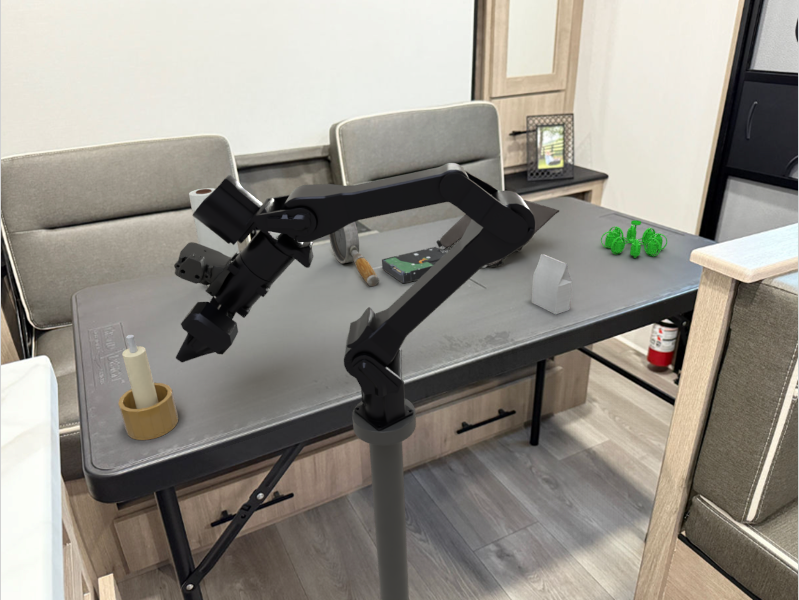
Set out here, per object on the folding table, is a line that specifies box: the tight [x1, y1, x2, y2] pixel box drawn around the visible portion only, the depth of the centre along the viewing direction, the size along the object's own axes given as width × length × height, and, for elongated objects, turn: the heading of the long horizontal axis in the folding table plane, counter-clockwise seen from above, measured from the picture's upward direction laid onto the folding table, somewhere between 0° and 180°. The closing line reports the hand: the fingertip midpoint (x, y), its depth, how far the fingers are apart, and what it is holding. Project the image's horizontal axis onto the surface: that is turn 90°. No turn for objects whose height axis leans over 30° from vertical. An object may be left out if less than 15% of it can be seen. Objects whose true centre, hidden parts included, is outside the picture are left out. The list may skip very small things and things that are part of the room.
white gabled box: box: [531, 253, 573, 315], centre depth 118 cm, size 4×7×10 cm, turn 31°
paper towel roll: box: [188, 187, 240, 288], centre depth 131 cm, size 7×6×21 cm
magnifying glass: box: [328, 222, 380, 287], centre depth 139 cm, size 13×3×25 cm
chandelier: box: [600, 220, 668, 259], centre depth 144 cm, size 15×15×7 cm
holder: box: [117, 382, 179, 441], centre depth 88 cm, size 7×7×5 cm
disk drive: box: [381, 246, 447, 284], centre depth 139 cm, size 10×3×15 cm
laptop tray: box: [436, 199, 560, 269], centre depth 148 cm, size 23×23×9 cm
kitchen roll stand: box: [121, 334, 159, 409], centre depth 86 cm, size 4×4×14 cm
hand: (190, 342), depth 83 cm, fingers open, 9 cm apart
